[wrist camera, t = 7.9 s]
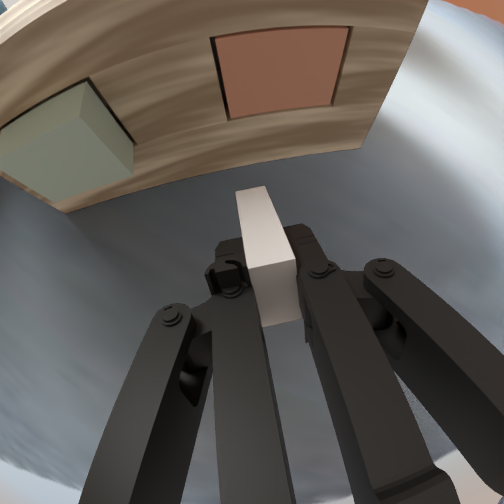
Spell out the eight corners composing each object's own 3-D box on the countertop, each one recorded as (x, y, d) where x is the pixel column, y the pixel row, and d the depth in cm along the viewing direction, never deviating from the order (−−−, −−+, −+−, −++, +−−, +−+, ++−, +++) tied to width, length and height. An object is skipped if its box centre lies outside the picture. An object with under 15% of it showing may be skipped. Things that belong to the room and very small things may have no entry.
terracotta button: (329, 104, 21) (348, 28, 13) (230, 118, 21) (214, 39, 13) (318, 79, 21) (330, 6, 13) (225, 92, 21) (209, 16, 14)
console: (360, 148, 28) (439, -29, 7) (65, 213, 29) (-77, 124, 7) (331, 83, 30) (362, -74, 9) (71, 144, 31) (-30, 42, 9)
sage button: (133, 175, 20) (79, 116, 12) (54, 202, 20) (-8, 164, 12) (133, 144, 21) (86, 81, 13) (57, 172, 21) (1, 129, 13)
